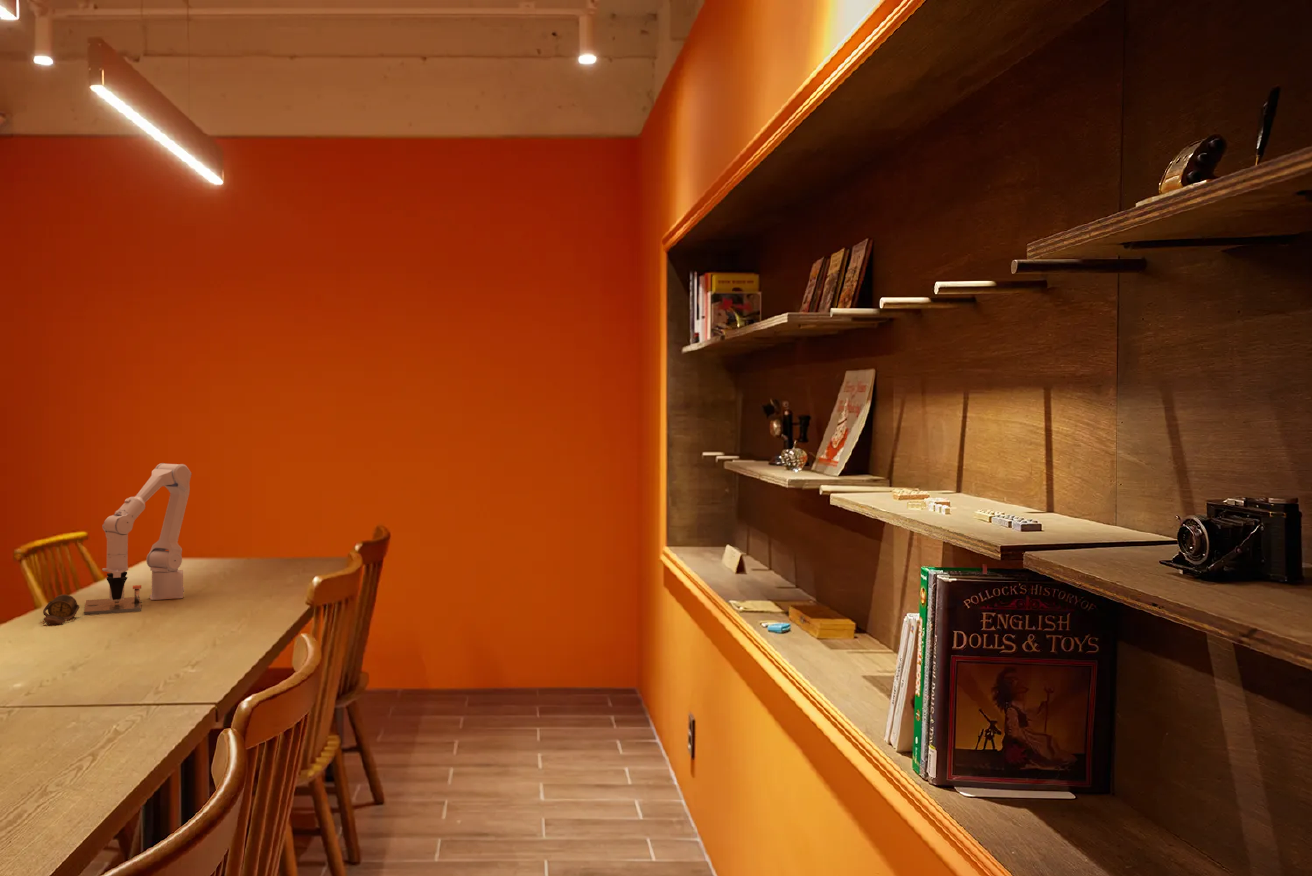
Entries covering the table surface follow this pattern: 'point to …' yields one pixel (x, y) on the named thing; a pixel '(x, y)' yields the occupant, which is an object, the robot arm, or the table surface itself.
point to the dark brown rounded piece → (60, 609)
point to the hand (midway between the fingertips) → (116, 597)
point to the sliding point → (117, 600)
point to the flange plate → (114, 604)
